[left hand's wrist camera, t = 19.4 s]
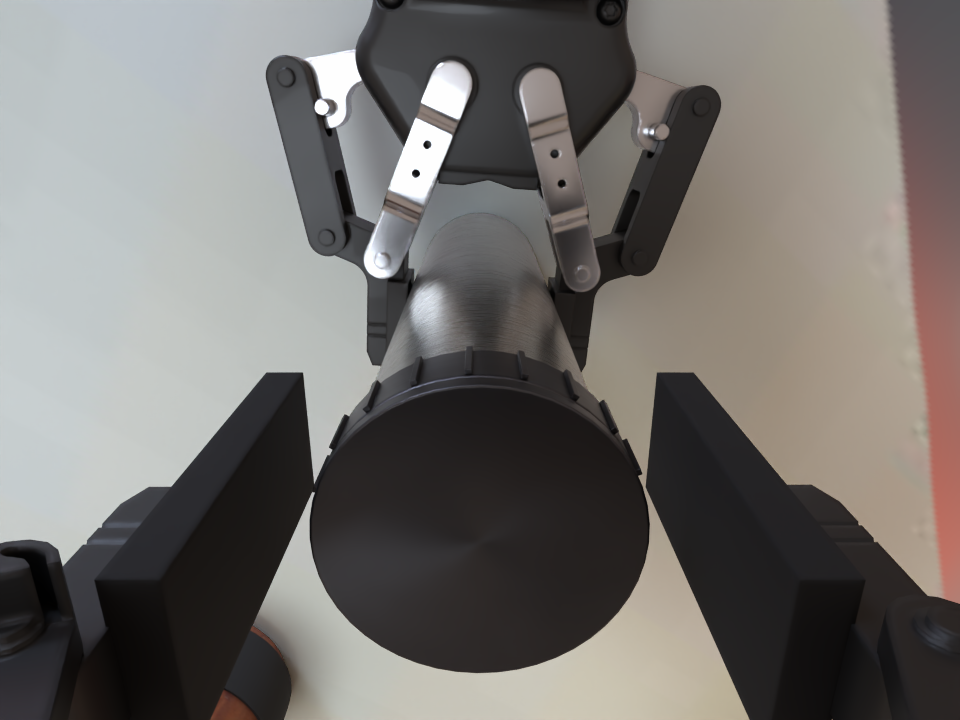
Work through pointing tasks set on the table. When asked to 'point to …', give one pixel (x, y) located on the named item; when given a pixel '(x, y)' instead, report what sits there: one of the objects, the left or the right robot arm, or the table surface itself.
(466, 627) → the lid
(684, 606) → the table surface
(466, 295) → the steel thermos bottle
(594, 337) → the table surface
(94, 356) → the table surface
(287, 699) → the mug
